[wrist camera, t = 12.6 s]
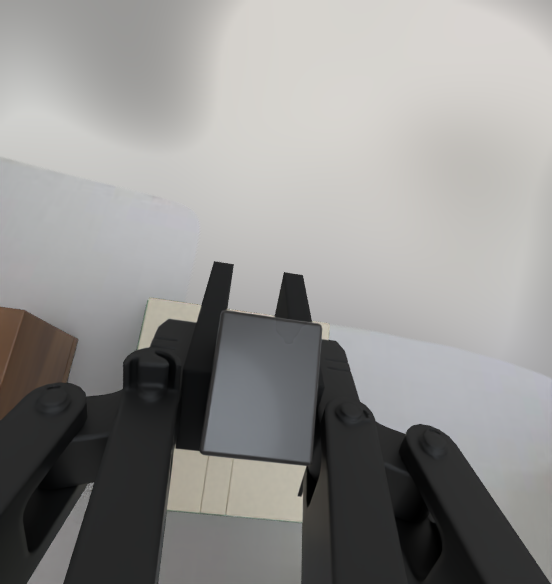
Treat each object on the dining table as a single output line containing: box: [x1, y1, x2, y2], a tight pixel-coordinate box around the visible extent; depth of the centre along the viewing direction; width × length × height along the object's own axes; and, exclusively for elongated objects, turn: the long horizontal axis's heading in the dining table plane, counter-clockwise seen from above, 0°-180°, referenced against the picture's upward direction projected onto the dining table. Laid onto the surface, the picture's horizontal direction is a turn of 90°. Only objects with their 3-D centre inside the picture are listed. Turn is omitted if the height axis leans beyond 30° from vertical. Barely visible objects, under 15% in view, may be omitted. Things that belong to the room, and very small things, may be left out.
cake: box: [138, 298, 330, 522], centre depth 29 cm, size 13×13×8 cm
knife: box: [199, 310, 322, 466], centre depth 17 cm, size 2×3×21 cm, turn 173°
